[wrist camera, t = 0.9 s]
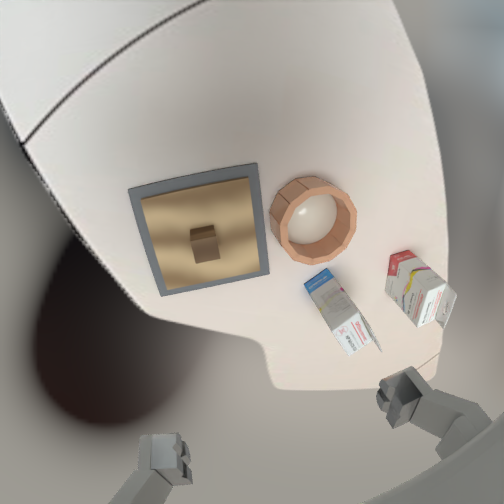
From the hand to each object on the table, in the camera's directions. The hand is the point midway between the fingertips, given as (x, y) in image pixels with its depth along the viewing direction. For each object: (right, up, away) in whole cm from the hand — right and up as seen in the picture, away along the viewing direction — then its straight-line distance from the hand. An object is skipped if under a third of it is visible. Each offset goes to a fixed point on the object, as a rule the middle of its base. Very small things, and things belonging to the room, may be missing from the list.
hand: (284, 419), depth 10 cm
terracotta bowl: (+7, +12, +32) cm, 35 cm away
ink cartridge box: (+27, +3, +42) cm, 50 cm away
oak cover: (-8, +9, +30) cm, 32 cm away
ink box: (+11, 0, +40) cm, 41 cm away
